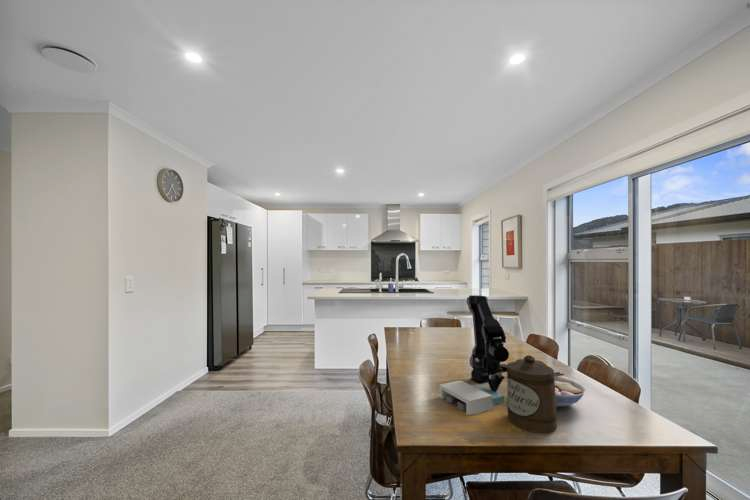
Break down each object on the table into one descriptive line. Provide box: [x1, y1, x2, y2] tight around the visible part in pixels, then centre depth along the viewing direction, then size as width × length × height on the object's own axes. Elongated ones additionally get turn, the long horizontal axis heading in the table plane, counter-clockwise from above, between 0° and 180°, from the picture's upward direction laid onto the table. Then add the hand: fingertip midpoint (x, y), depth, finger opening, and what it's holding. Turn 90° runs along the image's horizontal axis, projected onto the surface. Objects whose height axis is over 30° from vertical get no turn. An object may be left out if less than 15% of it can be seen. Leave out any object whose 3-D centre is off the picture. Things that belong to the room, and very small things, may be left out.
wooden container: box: [506, 354, 558, 434], centre depth 105 cm, size 15×15×22 cm
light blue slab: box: [474, 385, 505, 406], centre depth 123 cm, size 10×12×2 cm
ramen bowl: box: [554, 371, 587, 408], centre depth 120 cm, size 25×23×8 cm
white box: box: [438, 380, 494, 416], centre depth 119 cm, size 11×17×5 cm, turn 25°
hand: (493, 393), depth 126 cm, fingers closed
